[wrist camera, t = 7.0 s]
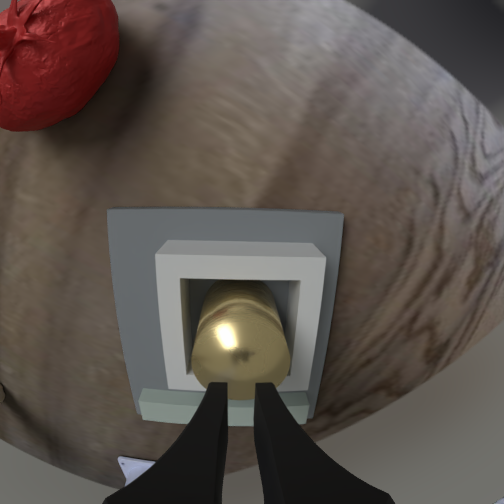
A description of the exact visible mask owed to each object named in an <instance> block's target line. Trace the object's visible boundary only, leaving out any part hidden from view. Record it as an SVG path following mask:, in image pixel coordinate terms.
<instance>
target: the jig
mask: <svg viewBox="0 0 504 504" xmlns="http://www.w3.org/2000/svg"><path fill="white" fill-rule="evenodd" d="M343 220H344V214H342V213H340V212H334V211H316V210H294V209H268V208H231V207H113V208H110V209H107V222H108V239H109V252H110V263H111V273H112V282H113V290H114V298H115V305H116V312H117V319H118V325H119V331H120V337H121V343H122V348H123V353H124V358H125V363H126V368H127V373H128V377H129V382H130V386H131V390H132V394H133V399H134V403H135V406H136V410H137V414H142V417H143V420H150V421H159V422H169V423H180V424H188V423H189V422H190V420H191V419H192V417H193V415H194V413H195V412H196V410H197V408H198V407H199V405H200V403H201V401H202V399H203V397H204V395H205V392H206V390H207V389H205V388H204V387H203V386H202V385H201V384H200V383H199V381H198V380H197V379H196V377H195V375H194V373H193V370H192V364H191V357H192V352H193V347H194V343H195V338H196V333H197V329H198V324H199V319H200V315H201V310H202V306H203V302H204V297H205V295H206V293H207V291H208V289H209V288H210V287H211V285H212V284H213V283H215V282H216V281H217V280H219V279H235V280H261V281H262V282H264V283H265V284H266V285H267V286H268V288H269V289H270V291H271V292H272V294H273V297H274V301H275V304H276V308H277V311H278V315H279V318H280V322H281V325H282V329H283V332H284V336H285V339H286V343H287V346H288V350H289V353H290V368H289V371H288V374H287V376H286V377H285V379H284V381H283V382H282V383H281V384H280V385H279V386H278V387H277V388H276V389H277V391H278V393H279V395H280V397H281V399H282V400H283V402H284V404H285V405H286V407H287V408H288V410H289V411H290V413H291V414H292V416H293V417H294V418H295V420H296V421H297V423H298V424H306V419H307V418H313V415H314V410H315V406H316V401H317V396H318V391H319V387H320V382H321V377H322V371H323V366H324V361H325V355H326V350H327V344H328V338H329V332H330V326H331V319H332V313H333V306H334V299H335V292H336V284H337V277H338V268H339V260H340V251H341V241H342V231H343ZM254 400H255V399H250V400H231V399H228V426H254V421H253V418H254Z"/></svg>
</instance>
